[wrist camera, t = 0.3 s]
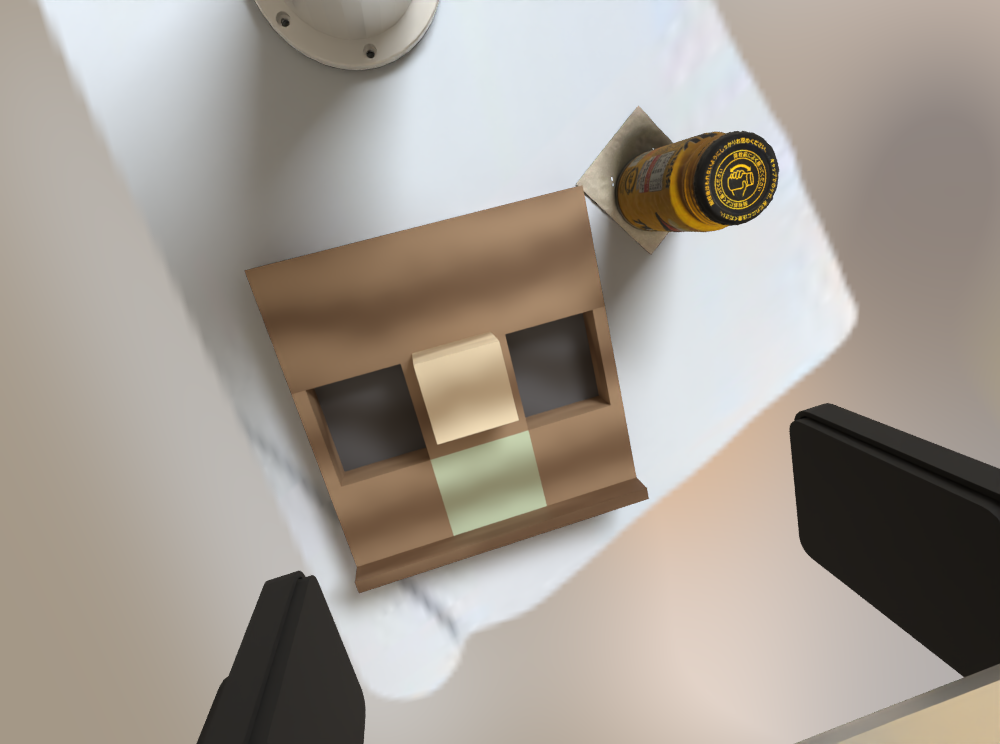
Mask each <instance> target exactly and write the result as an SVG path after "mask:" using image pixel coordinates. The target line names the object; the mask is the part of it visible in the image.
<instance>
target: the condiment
mask: <svg viewBox="0 0 1000 744" xmlns="http://www.w3.org/2000/svg"><path fill="white" fill-rule="evenodd" d="M652 148H654V150H653V149H652ZM778 173H779V167H778V163H777V159H776V156H775V153H774V150H773V148H772V147H771V146H770V145H769V144H768V143H767V142H766V141H765V140H764V139H763V138H762V137H760V136H758V135H756V134H755V133H750V132H746V131H742V132H739V131H734V132H729V133H722V132H711V133H704V134H701V135H698V136H694V137H691V138H689V139H685V140H682V141H679V142H676V143H672V141H671V140H670V139H669V138H668V137H667V136H666V135H665V134H664V133H663V132H662V131H661V129H659V128H658V127H657V126H656V124H655V123H654V122H653V121H652V120H651V119H650V118H649V116H648V115H647V114H646V113H645V112H644V111H643V110H642V109H641V108H640V107H639V106H638V107H637V108H636V109H635V110H634V112H633V113H632V114H631V115H630V116H629V118H628V119H627V120H626V121H625V123H624V124H623V125H622V126H621V128H620V129H619V130H618V132H617V133H616V134H615V135H614V136H613V138H612V139H611V140H610V141H609V143H608V144H607V145H606V147H605V148H604V149H603V150H602V152H601V153H600V154H599V155H598V157H597V158H596V159H595V161H594V162H593V163H592V164H591V166H590V167H589V168H588V169H587V171H586V172H585V173H584V175H583V176H582V177H581V179H580V180H579V181H578V182H577V185H578V186H581V185H583V190H584V192H585V193H586V194H587V195H588V196H589V197H590V198H592V199H593V200H594V201H595V202H596V203H597V204H598V205H599V206H600V207H601V208H602V209H603V210H604V211H605V212H606V213H607V214H608V215H610V217H611V218H613V220H614V221H615V222H616V223H617V224H619V225H620V226H621V227H622V228H623V229H624V230H625V231H626V232H627V233H628V234H629V235H630V236H631V237H632V238H633V239H634V240H635V241H636V242H638V243H639V244H640V245H641V246H642V247H643V248H644V249H645V250H646V251H647V252H648V253H650V254H652V253H653V252H654V250H655V249H656V248H657V247H658V245H659V244H660V243H661V241H662V240H663V239H664V238H665V236H666V235H667V234H668V233H669V232H709V231H715V230H720V229H723V228H725V227H727V226H732V225H739V224H742V223H746V222H748V221H750V220H752V219H754V218H756V217H757V216H758V215H759V214H760V213H761V212H762V211H763V210H764V209H765V208H766V207H767V206H768V205H769V203H770V202H771V201H772V199H773V195H774V193H775V191H776V188H777V184H778ZM611 177H613V181H611ZM612 183H614V186H612Z"/></svg>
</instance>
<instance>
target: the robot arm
mask: <svg viewBox="0 0 1000 744" xmlns="http://www.w3.org/2000/svg"><path fill="white" fill-rule="evenodd" d="M255 2H256V4H257V6H258V7H259V9H260V11H261V12H262V14H263V15H264V16H265V18H266V19H267V20H268V22H269V23H270V24H271V26H272V27H273V29H274V30H275V31H276V32H277V33H278V34H279V35H280V36H281V37H282V38H283V39H284V40H285V41H286V42H287V43H288V44H290V45H291V46H292V47H294V48H295V49H297V50H298V51H300V52H301V53H302V54H304V55H305V56H307V57H309V58H311V59H313V60H316V61H318V62H320V63H322V64H324V65H328V66H332V67H336V68H340V69H348V70H365V69H371V68H378V67H381V66H383V65H386V64H388V63H391V62H393V61H396V60H397V59H398V58H400V57H401V56H403V55H404V54H406V53H407V52H409V51H410V50H411V49H412V48H413V47H414V46H415V45H416V44H417V43H418V42H419V41H420V40H421V39H422V37H423V35H424V34H425V32H426V31H427V29H428V27H429V26H430V24H431V23H432V20H433V17H434V15H435V12H436V10H437V7H438V4H439V0H255ZM285 20H287V21H289V26H287V27H284V26H282V23H283V21H285ZM368 52H373V53H374V54H375V56H374V57H373V58H369V57H368V56H367V53H368ZM794 420H795V421H794V422H792V423H791V425H790V442H791V452H792V463H793V473H794V484H795V496H796V506H797V517H798V527H799V537H800V542H801V544H802V547H803V548H804V550H805V552H806V553H807V554H808V555H809V556H810V557H811V558H812V559H813V560H815V561H816V562H817V563H818V564H820V565H821V566H822V567H824V568H825V569H826V570H828V571H829V572H830V573H831V574H833V575H834V576H835V577H836V578H838V579H839V580H840V581H842V582H843V583H844V584H845V585H847V586H848V587H849V588H851V589H852V590H853V591H855V592H856V593H857V594H858V595H860V596H861V597H862V598H863V599H865V600H866V601H867V602H869V603H870V604H871V605H873V606H874V607H875V608H876V609H878V610H879V611H880V612H881V613H883V614H884V615H885V616H887V617H888V618H889V619H890V620H892V621H893V622H894V623H896V624H897V625H898V626H899V627H901V628H902V629H903V630H904V631H906V632H907V633H909V634H910V635H911V636H912V637H913V638H915V639H916V640H917V641H918V642H920V643H921V644H922V645H924V646H925V647H926V648H927V649H929V650H930V651H931V652H933V653H934V654H935V655H937V656H938V657H939V658H940V659H942V660H943V661H944V662H945V663H947V664H948V665H949V666H951V667H952V668H953V669H955V670H956V671H957V672H958V673H960V674H961V675H962V676H963V677H964V678H962V679H959V680H957V681H954V682H951V683H949V684H946V685H944V686H941V687H938V688H936V689H933V690H931V691H928V692H926V693H923V694H920V695H918V696H915V697H913V698H910V699H907V700H905V701H902V702H900V703H897V704H894V705H892V706H889V707H887V708H884V709H882V710H879V711H876V712H874V713H872V714H869V715H867V716H864V717H861V718H859V719H856V720H854V721H851V722H849V723H846V724H843V725H841V726H838V727H836V728H833V729H831V730H828V731H826V732H823V733H821V734H818V735H816V736H813V737H810V738H808V739H805V740H803V741H800V742H798V743H795V744H1000V469H998V468H996V467H993V466H991V465H988V464H986V463H983V462H980V461H978V460H975V459H973V458H970V457H967V456H965V455H962V454H960V453H957V452H955V451H952V450H950V449H947V448H944V447H942V446H939V445H937V444H934V443H931V442H929V441H926V440H923V439H921V438H918V437H916V436H913V435H911V434H908V433H906V432H903V431H900V430H898V429H895V428H893V427H890V426H887V425H885V424H882V423H880V422H877V421H874V420H872V419H869V418H867V417H864V416H862V415H859V414H857V413H854V412H851V411H849V410H846V409H844V408H841V407H838V406H836V405H833V404H829V403H826V404H822V405H819V406H816V407H813V408H810V409H807V410H803V411H800V412H799V413H797V414H796V416H795V419H794ZM364 729H365V701H364V696H363V692H362V689H361V687H360V684H359V682H358V679H357V677H356V674H355V672H354V669H353V667H352V664H351V662H350V659H349V657H348V654H347V652H346V649H345V647H344V645H343V642H342V640H341V637H340V635H339V632H338V630H337V627H336V625H335V622H334V620H333V617H332V615H331V612H330V610H329V607H328V605H327V603H326V600H325V598H324V595H323V593H322V590H321V588H320V585H319V583H318V581H317V579H316V577H315V576H313V575H311V576H308V577H305V575H304V574H303V573H302V572H301V571H296V572H293V573H290V574H287V575H284V576H281V577H278V578H274V579H271V580H268V581H266V583H265V584H264V586H263V589H262V591H261V594H260V596H259V599H258V602H257V604H256V607H255V609H254V612H253V614H252V617H251V620H250V623H249V625H248V627H247V630H246V632H245V635H244V638H243V640H242V643H241V645H240V648H239V650H238V654H237V656H236V658H235V661H234V664H233V666H232V669H231V671H230V674H229V676H228V677H227V678H225V679H224V680H223V682H222V684H221V685H220V687H219V689H218V691H217V694H216V696H215V699H214V701H213V704H212V707H211V709H210V711H209V714H208V716H207V719H206V721H205V724H204V726H203V729H202V731H201V734H200V736H199V739H198V742H197V744H363V743H364Z"/></svg>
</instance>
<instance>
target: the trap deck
mask: <svg viewBox="0 0 1000 744" xmlns="http://www.w3.org/2000/svg"><path fill="white" fill-rule="evenodd" d="M245 273H246V276H247V278H248V281H249V284H250V286H251V289H252V292H253V294H254V297H255V300H256V302H257V305H258V307H259V310H260V313H261V315H262V318H263V321H264V323H265V326H266V329H267V331H268V334H269V336H270V339H271V342H272V344H273V347H274V350H275V352H276V355H277V358H278V360H279V363H280V365H281V368H282V371H283V373H284V376H285V379H286V381H287V384H288V387H289V389H290V392H291V394H292V397H293V400H294V402H295V405H296V408H297V410H298V413H299V416H300V418H301V421H302V423H303V426H304V429H305V431H306V434H307V437H308V439H309V442H310V445H311V447H312V450H313V452H314V455H315V458H316V460H317V463H318V466H319V468H320V471H321V474H322V476H323V479H324V481H325V484H326V487H327V489H328V492H329V495H330V497H331V500H332V503H333V505H334V508H335V510H336V513H337V516H338V518H339V521H340V524H341V526H342V529H343V532H344V534H345V537H346V539H347V542H348V545H349V547H350V550H351V553H352V555H353V558H354V561H355V563H356V566H357V571H356V579H355V584H356V587H357V589H358V592H359V593H362V592H365V591H368V590H371V589H374V588H377V587H380V586H383V585H386V584H389V583H392V582H395V581H398V580H401V579H404V578H407V577H411V576H414V575H417V574H420V573H423V572H426V571H429V570H432V569H435V568H438V567H441V566H444V565H447V564H450V563H453V562H456V561H460V560H463V559H466V558H469V557H472V556H475V555H478V554H481V553H484V552H487V551H490V550H493V549H496V548H499V547H502V546H506V545H509V544H512V543H515V542H518V541H521V540H524V539H527V538H530V537H533V536H536V535H539V534H542V533H545V532H548V531H551V530H555V529H558V528H561V527H564V526H567V525H570V524H573V523H576V522H579V521H582V520H585V519H588V518H591V517H594V516H597V515H600V514H604V513H607V512H610V511H613V510H616V509H619V508H622V507H625V506H628V505H631V504H634V503H637V502H640V501H643V500H646V499H649V497H648V492H647V488H646V487H645V486H644V485H643V484H642V483H641V482H640V481H639V480H638V479H637V477H636V473H635V467H634V462H633V456H632V451H631V446H630V440H629V435H628V429H627V424H626V418H625V413H624V408H623V402H622V397H621V391H620V386H619V380H618V375H617V370H616V364H615V359H614V353H613V348H612V342H611V337H610V332H609V326H608V321H607V315H606V310H605V304H604V299H603V294H602V288H601V283H600V277H599V272H598V266H597V261H596V255H595V250H594V245H593V239H592V234H591V228H590V223H589V217H588V212H587V207H586V201H585V196H584V190H583V185H581V186H577V187H573V188H569V189H565V190H561V191H557V192H553V193H549V194H545V195H542V196H538V197H534V198H530V199H526V200H522V201H518V202H514V203H510V204H506V205H502V206H498V207H494V208H490V209H486V210H482V211H478V212H474V213H470V214H466V215H462V216H458V217H454V218H450V219H447V220H443V221H439V222H435V223H431V224H427V225H423V226H419V227H415V228H411V229H407V230H403V231H399V232H395V233H391V234H387V235H383V236H379V237H375V238H371V239H367V240H363V241H359V242H355V243H351V244H348V245H344V246H340V247H336V248H332V249H328V250H324V251H320V252H316V253H312V254H308V255H304V256H300V257H296V258H292V259H288V260H284V261H280V262H276V263H272V264H268V265H264V266H260V267H256V268H252V269H249V270H245ZM488 332H491V333H492V334H493V335H494V336H495V337H496V338H497V339H498V340H499V342H500V346H501V350H502V354H503V358H504V362H505V366H506V370H507V374H508V379H509V383H510V387H511V391H512V395H513V399H514V403H515V407H516V411H517V415H518V419H519V420H518V421H515V422H512V423H508V424H505V425H502V426H498V427H495V428H492V429H488V430H485V431H482V432H478V433H475V434H472V435H468V436H465V437H462V438H458V439H455V440H452V441H448V442H445V443H442V444H438V445H437V442H436V438H435V435H434V432H433V428H432V425H431V422H430V418H429V415H428V412H427V408H426V405H425V402H424V399H423V395H422V392H421V389H420V385H419V382H418V379H417V375H416V372H415V369H414V365H413V358H412V353H416V352H419V351H423V350H427V349H430V348H434V347H437V346H441V345H445V344H448V343H452V342H455V341H459V340H462V339H466V338H470V337H473V336H477V335H480V334H484V333H488Z"/></svg>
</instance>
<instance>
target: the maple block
mask: <svg viewBox="0 0 1000 744" xmlns="http://www.w3.org/2000/svg"><path fill="white" fill-rule="evenodd" d="M412 358H413V365H414V369H415V372H416V375H417V379H418V382H419V385H420V389H421V392H422V395H423V399H424V402H425V405H426V408H427V412H428V415H429V418H430V422H431V425H432V428H433V432H434V435H435V438H436V442H437V445H438V444H442V443H445V442H448V441H452V440H455V439H458V438H462V437H465V436H468V435H472V434H475V433H478V432H482V431H485V430H488V429H492V428H495V427H498V426H502V425H505V424H508V423H512V422H515V421H518V420H519V419H518V415H517V411H516V407H515V403H514V399H513V395H512V391H511V387H510V383H509V379H508V374H507V370H506V366H505V362H504V358H503V354H502V350H501V346H500V342H499V340H498V339H497V338H496V337H495V336H494V335H493V334H492V333H491V332H488V333H484V334H480V335H477V336H473V337H470V338H466V339H462V340H459V341H455V342H452V343H448V344H445V345H441V346H437V347H434V348H430V349H427V350H423V351H419V352H416V353H412Z"/></svg>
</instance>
